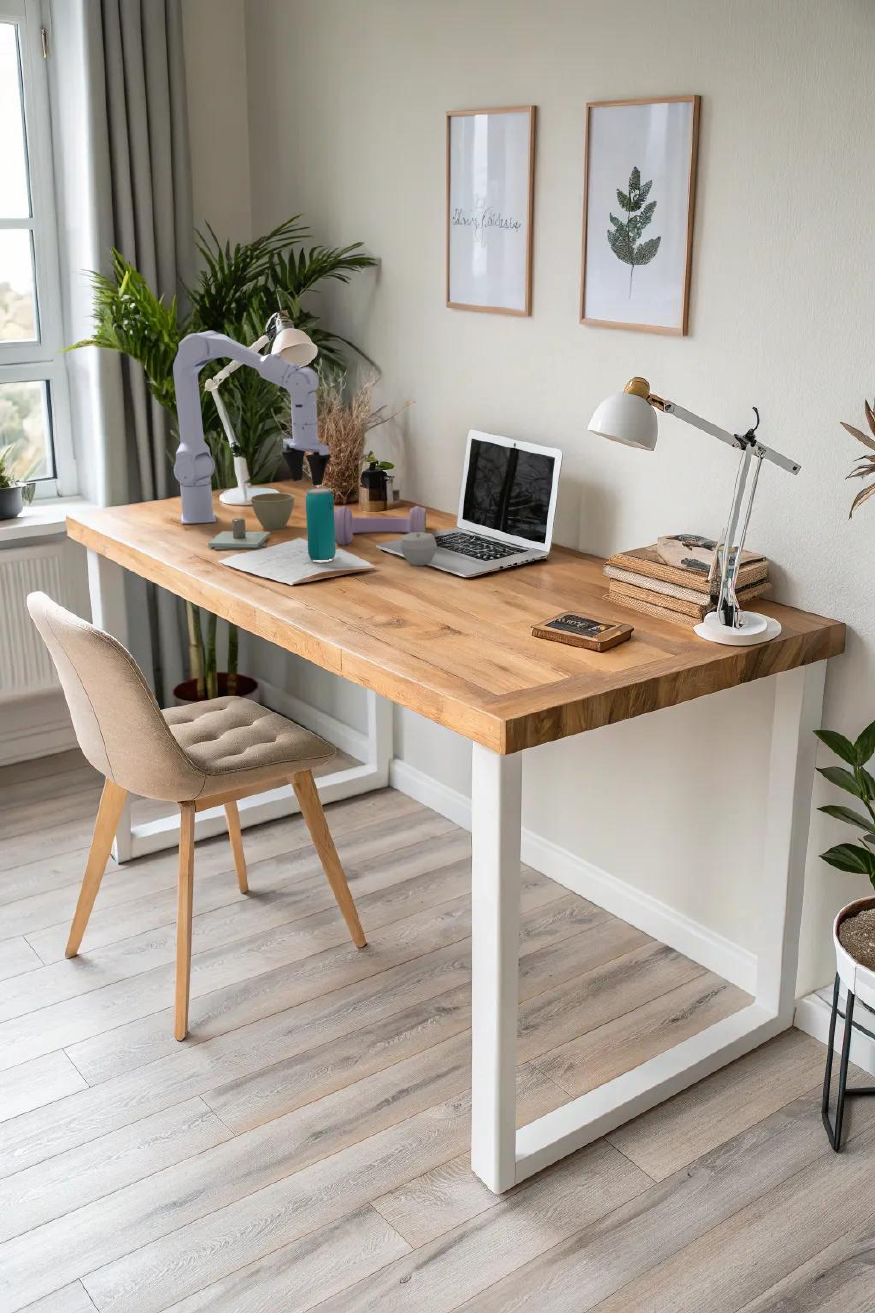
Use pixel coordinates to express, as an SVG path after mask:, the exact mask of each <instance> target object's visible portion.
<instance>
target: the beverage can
mask: <svg viewBox="0 0 875 1313" xmlns="http://www.w3.org/2000/svg"><path fill="white" fill-rule="evenodd" d="M306 492H307V493H306V495H305V512H306V515H305V516H306V517H305V518H306V532H307V533H306V536H307V537H306V538H307V552H308V556H309V558H310V560H329V559H333V558H335V556H336V552H337V550H336V549H337V548H336V543H335V523H334V512H335V502H334V501H335V500H334V494H333V492H332V488H329V487H321V486H319V487H311V488H308V489H307V490H306ZM333 560H334V559H333Z"/></svg>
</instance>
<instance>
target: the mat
mask: <svg viewBox="0 0 875 1313" xmlns="http://www.w3.org/2000/svg"><path fill="white" fill-rule="evenodd" d="M216 536H217V535H215V536H213V535H212V539H214V538H215V537H216ZM266 548H267V545H266V540H265V541H264V542H263V543H262V544H261V545H260V546H259V547H257V548H255V547H214V551H216V552H218V551H219V552H220V551H222V552H223V551H234V550H237V551H238V550H249V549H266Z"/></svg>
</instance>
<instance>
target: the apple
mask: <svg viewBox="0 0 875 1313" xmlns="http://www.w3.org/2000/svg"><path fill="white" fill-rule="evenodd" d="M399 545H400V549H401V552H402V555H403V556H404V558H405V560H406V562H407V563H408V565H411V566H416V567H418V566H419V567H420V566H422V567H423V566H426V565H428V564H429V563H430V562H432V561H433V558H434V557H435V553H436V550H437V547H438V544H437V542H436V538H435V536H434V535H433V534H432V533H429V532H428V533H427V532H426V533H423V532H415V533H404V534H402V535H401V537H400V542H399Z"/></svg>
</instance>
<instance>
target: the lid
mask: <svg viewBox="0 0 875 1313" xmlns="http://www.w3.org/2000/svg"><path fill="white" fill-rule="evenodd" d="M245 520H246V519H245V518H241V517H239V518H238V517H237V518H233V519H231V525H232V530H230V531H227V530H222V531H221V532H220V533H218V534H217V535H215V536H216V537H215V538H214V539H213V538H212V539H211V540H210V541H209V542H208V543H207V544H208V548H209V547H210V548H212V547H214V548H215V547H255V548H254V549H258V548H257V547H259V546H260V545H261V544H262V543H263V542H264V541H265V542H266V540H267V539H268V538H269V537H270V536H271V532H270V531H246V521H245Z"/></svg>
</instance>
